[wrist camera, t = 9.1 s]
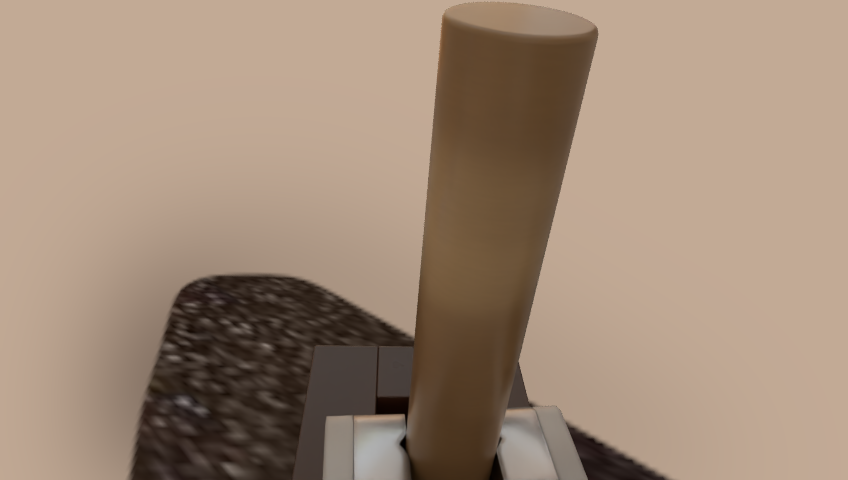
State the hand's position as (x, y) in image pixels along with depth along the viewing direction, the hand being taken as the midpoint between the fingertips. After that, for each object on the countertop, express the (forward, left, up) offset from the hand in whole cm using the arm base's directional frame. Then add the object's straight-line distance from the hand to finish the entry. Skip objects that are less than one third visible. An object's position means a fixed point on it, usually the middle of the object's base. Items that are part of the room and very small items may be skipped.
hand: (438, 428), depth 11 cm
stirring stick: (0, -1, -12) cm, 12 cm away
